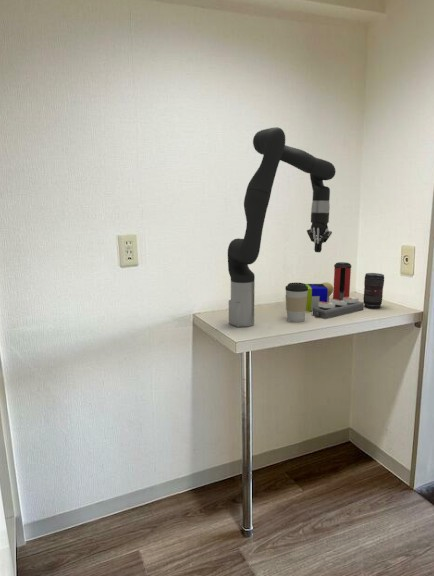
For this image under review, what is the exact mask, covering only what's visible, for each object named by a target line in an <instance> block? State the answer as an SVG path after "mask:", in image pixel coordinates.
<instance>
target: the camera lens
mask: <svg viewBox="0 0 434 576" xmlns="http://www.w3.org/2000/svg"><path fill="white" fill-rule="evenodd" d="M363 283H364V288H363V296H362V297H363V303H364V306H363V308H366V309H370V310H371V309H372V310H375V309H376V310H378V309H380V308H381V305H382V301H383V296H384V295H383V294H384V293H383V292H384V284H385V274H383V273H376V272H367V273H365V275H364V282H363Z"/></svg>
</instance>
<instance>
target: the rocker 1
mask: <svg viewBox="0 0 434 576" xmlns="http://www.w3.org/2000/svg"><path fill="white" fill-rule="evenodd" d="M318 306H319V307H323V308H335V304H332V303H331V302H329V303H327V302H321V301H320V302H319V305H318Z"/></svg>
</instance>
